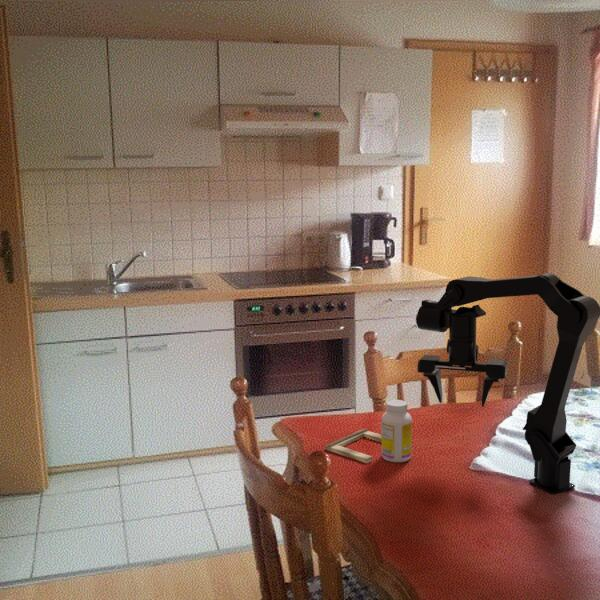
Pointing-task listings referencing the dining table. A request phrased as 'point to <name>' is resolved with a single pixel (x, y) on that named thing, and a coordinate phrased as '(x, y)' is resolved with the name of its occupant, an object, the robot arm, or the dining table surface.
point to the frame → (339, 444)
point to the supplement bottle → (396, 432)
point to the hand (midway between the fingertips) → (461, 404)
